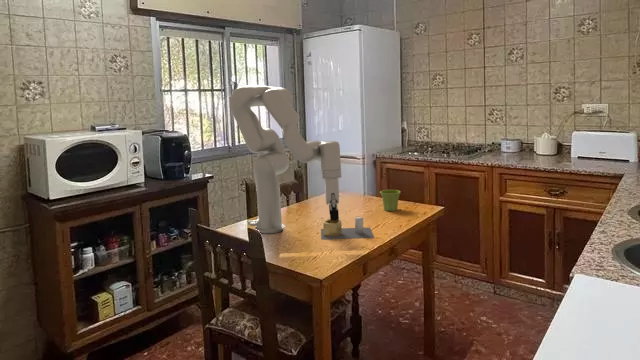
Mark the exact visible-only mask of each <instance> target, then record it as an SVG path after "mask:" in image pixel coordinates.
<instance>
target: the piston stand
mask: <svg viewBox="0 0 640 360" xmlns="http://www.w3.org/2000/svg"><path fill="white" fill-rule="evenodd" d="M320 237H321V241H323V240H325V241H326V240H351V239H353V240H354V239H355V240H357V239H374V238H375V236H374V233H373V230H372V229H371V227H369V226H367V227H364V217H362V216H355V217H354V227H345V228H344V227H343V228H342V235H339V236H332V237H329V236H325V235H324V229H323V228H321V229H320Z"/></svg>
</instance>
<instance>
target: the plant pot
mask: <svg viewBox="0 0 640 360" xmlns="http://www.w3.org/2000/svg"><path fill="white" fill-rule="evenodd" d="M379 193H380V195H381V198H382V206H383V210H384V211H389V212H395V211H397V210H398V206H399V198H400V194H401V191H400V190H398V189H384V190H380V191H379Z"/></svg>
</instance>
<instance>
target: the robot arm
mask: <svg viewBox="0 0 640 360" xmlns="http://www.w3.org/2000/svg"><path fill="white" fill-rule="evenodd" d="M293 97H294V96H293V95H292V93H291V91H290V90H288V89H287V88H284V87H278V86H277V87H276V86H269V85H261V84H260V85H259V84H258V85H256V84H255V85H243V86H242V85H241V86H239V87H237V88H235V90H234V91H232V93H231V95H230V99H229V107H230V111H231V115H232V116H233V119H234V120H235V121H236V124H237V125H238V128H239V131H240V134H241V135H242V137H243V140H244V142H245V145H246V147H247V149H248V151H250V152H251V153H253V154H260V153H264V154H262V155H259V156H258V157H257V158H256V159H255V160H254V161H253V165H252V171H253V175H254V180H255V185H256V187H255V189H256V199H257V201H256V202H257V219H255V220H252V219H251V220H248V221H247V226H250V227H255V228H254V230H255V229H257V230H259V231H260V232H261V233H260V234H276V233H280V232H283V230H284V229H285V227H286V224H284V223H283V222H282V205H281V203H282V202H281V189H280V187H281V186H280V181H279V179H278V175H281V174H284V173H285V172H286V171H287V170H288V168H289V167H290V162H289V157H288V155H287V152H286V150H285V147H284V145H283V143H282V140H281V138H280V136H279V135H278V133H277V132H276V131H275V129H272V128H269V127H264V128H263V127H262V125H261V123H260V121H259V118H258V116H257V115H256V113H255V112H254V111H253V110H252V109H251V108H252V107H265V109H266V111H268V113H269V114H270V115H271V116H272V118H273V119H274V121H275V122H276V123H277V125H278V126H279V128H280V129H281V131H282V136H283V139H284V143H285V144H286V147H287V149H288V150H289V151H290V153H291V154H292V155H293V156H294V158H295V159H297V161H299V162H301V163H302V164H306V163H311V162H314V161H318V160H320V168H321V178H322V179H323V180H324V194H325V195H324V196H325V204H326V205H327V206H328V207H329V208H328V209H329V210H328V212H329V217H330V218H329V219H330V220H331V221H334V220H340V217H339V215H340V213H339V209H338V208H339V207H338V204H339V203H340V184H339V179H341V178H342V167H341V166H342V165H341V162H342V161H341V147H340V146H341V145H340V143H339V142H338V141H336V140H329V141H322V140H311V141H306V140H305V139H304V138H303V136H302V135H301V133H300V131H299V127H298V125H299V121H300V119H301V118H300V115H299V114H298V112H297V111H296V110H295V108H294V107H293V106H292V104H293V101H294V100H293V99H294V98H293Z"/></svg>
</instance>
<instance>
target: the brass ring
mask: <svg viewBox="0 0 640 360" xmlns="http://www.w3.org/2000/svg"><path fill="white" fill-rule="evenodd" d="M322 223H323V228H322V229H324V235H325V236H329V237H332V236H339V235H342V220H341V219H339V220H334V221H331V220H330V218H328V219H325V220H323V222H322Z"/></svg>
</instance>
